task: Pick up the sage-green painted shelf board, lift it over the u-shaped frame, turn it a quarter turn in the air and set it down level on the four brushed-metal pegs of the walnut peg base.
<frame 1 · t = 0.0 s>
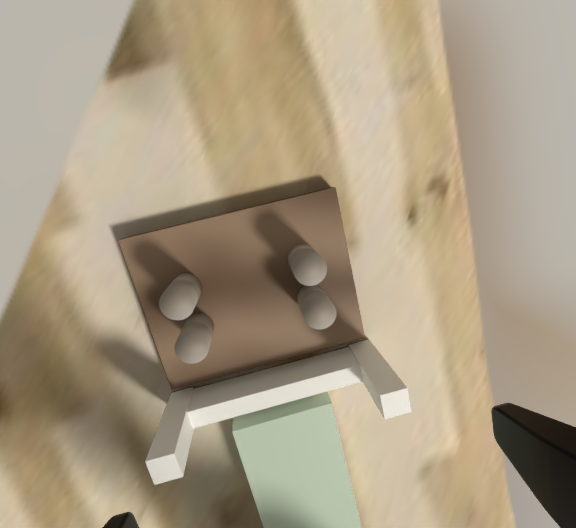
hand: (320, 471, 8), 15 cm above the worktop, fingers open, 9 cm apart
board: (297, 458, 26), on the worktop
peg stand: (250, 288, 22), on the worktop
u-shaped frame: (274, 375, 24), on the worktop
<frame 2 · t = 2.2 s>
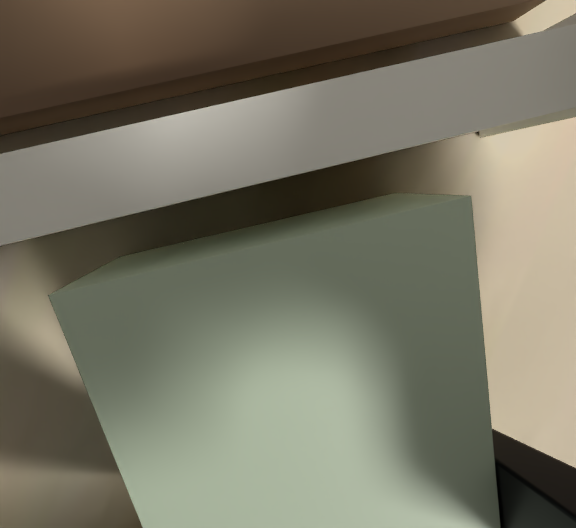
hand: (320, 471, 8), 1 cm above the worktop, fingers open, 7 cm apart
board: (311, 435, 9), on the worktop
u-shaped frame: (240, 159, 8), on the worktop
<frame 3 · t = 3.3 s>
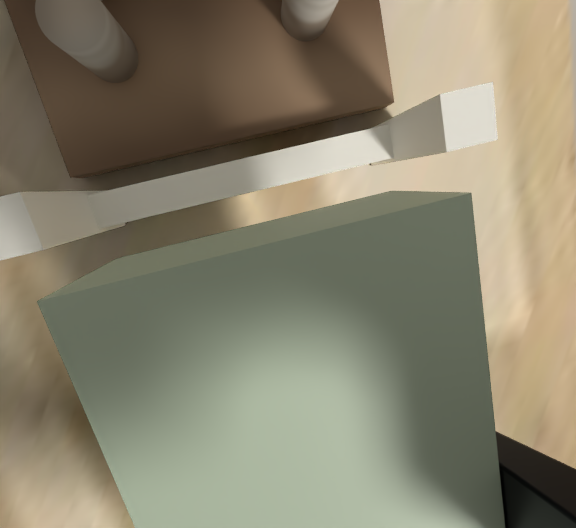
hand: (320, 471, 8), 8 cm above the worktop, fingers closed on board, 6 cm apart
board: (311, 438, 9), point 7 cm above the worktop, touching gripper
peg stand: (203, 9, 13), on the worktop
u-shaped frame: (246, 177, 15), on the worktop
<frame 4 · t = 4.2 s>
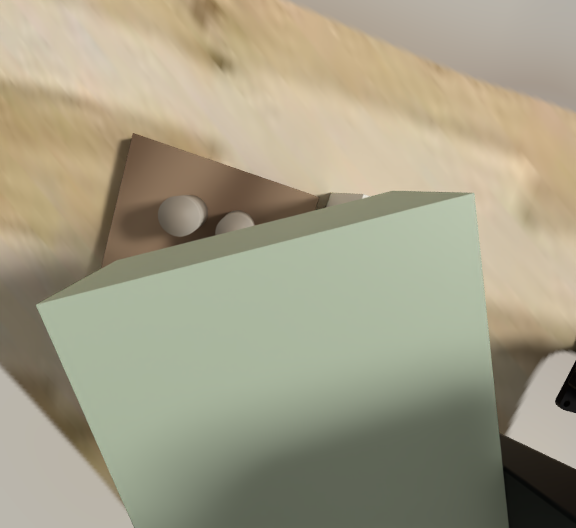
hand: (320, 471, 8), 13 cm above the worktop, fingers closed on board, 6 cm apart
board: (313, 440, 9), point 12 cm above the worktop, touching gripper
peg stand: (199, 277, 20), on the worktop
u-shaped frame: (304, 307, 21), on the worktop
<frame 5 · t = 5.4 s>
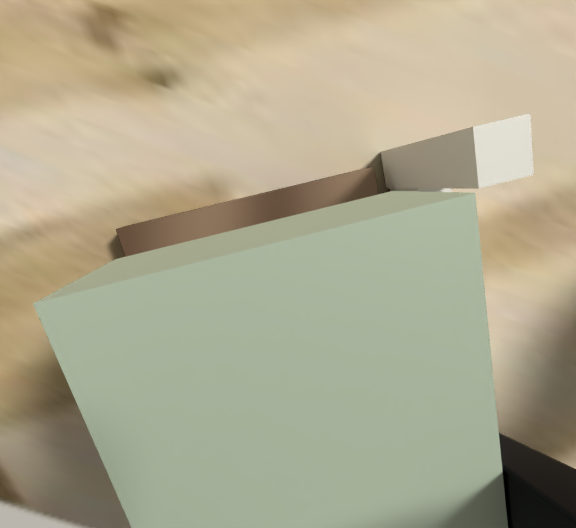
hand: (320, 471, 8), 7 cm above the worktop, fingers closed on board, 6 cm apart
board: (312, 441, 9), point 6 cm above the worktop, touching gripper
peg stand: (284, 339, 15), on the worktop
u-shaped frame: (420, 303, 16), on the worktop
when the fingers open (6 cm above the worktop, at t = 6.2 s): board stays where it is, resting on peg stand.
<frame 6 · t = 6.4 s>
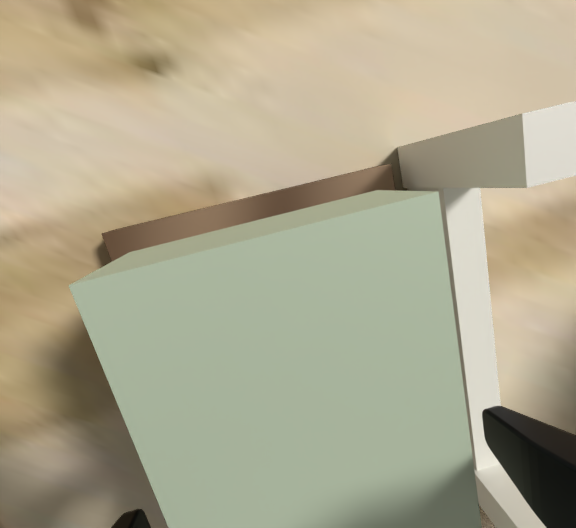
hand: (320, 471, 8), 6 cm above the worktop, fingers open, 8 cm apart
board: (306, 417, 10), point 4 cm above the worktop, touching peg stand
peg stand: (289, 354, 14), on the worktop
u-shaped frame: (439, 314, 14), on the worktop
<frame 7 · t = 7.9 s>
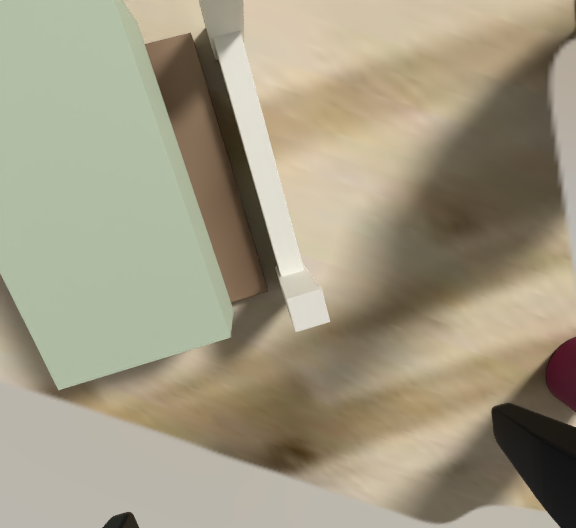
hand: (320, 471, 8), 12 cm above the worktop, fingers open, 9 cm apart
board: (113, 202, 14), point 4 cm above the worktop, touching peg stand
peg stand: (141, 199, 18), on the worktop
u-shaped frame: (260, 166, 18), on the worktop
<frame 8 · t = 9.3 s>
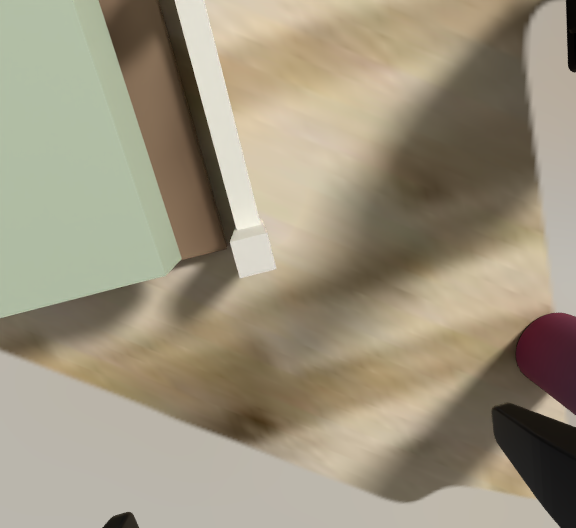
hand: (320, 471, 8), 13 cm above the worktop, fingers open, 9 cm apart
board: (55, 136, 14), point 4 cm above the worktop, touching peg stand
peg stand: (97, 147, 18), on the worktop
u-shaped frame: (221, 119, 18), on the worktop
cup: (547, 346, 23), on the worktop
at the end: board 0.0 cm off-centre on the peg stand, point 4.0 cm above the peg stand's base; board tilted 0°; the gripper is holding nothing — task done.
